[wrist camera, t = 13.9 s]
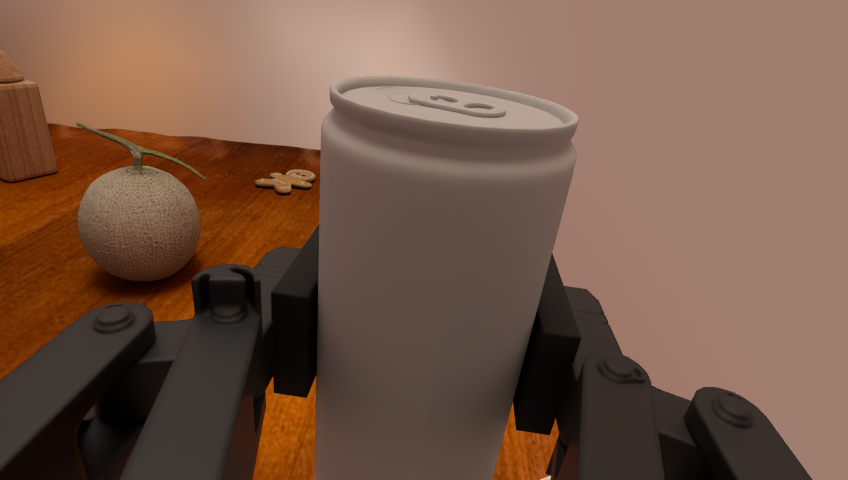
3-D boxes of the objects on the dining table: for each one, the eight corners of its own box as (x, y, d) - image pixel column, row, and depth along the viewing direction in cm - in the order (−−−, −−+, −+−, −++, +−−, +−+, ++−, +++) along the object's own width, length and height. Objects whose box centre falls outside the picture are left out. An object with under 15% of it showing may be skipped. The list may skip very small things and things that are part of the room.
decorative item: (-19, 172, 68) (-65, 21, 59) (33, 162, 74) (-3, 22, 65) (9, 184, 66) (-35, 28, 57) (60, 172, 71) (27, 29, 63)
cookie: (247, 178, 76) (290, 164, 84) (248, 183, 76) (290, 169, 84) (288, 191, 73) (328, 175, 81) (288, 197, 73) (328, 181, 81)
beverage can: (372, 422, 17) (404, 69, 12) (499, 488, 15) (605, 107, 10) (276, 540, 13) (258, 84, 8) (433, 647, 11) (553, 152, 6)
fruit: (218, 289, 49) (206, 149, 43) (85, 307, 44) (47, 152, 38) (209, 244, 57) (198, 121, 51) (96, 255, 52) (67, 119, 46)
